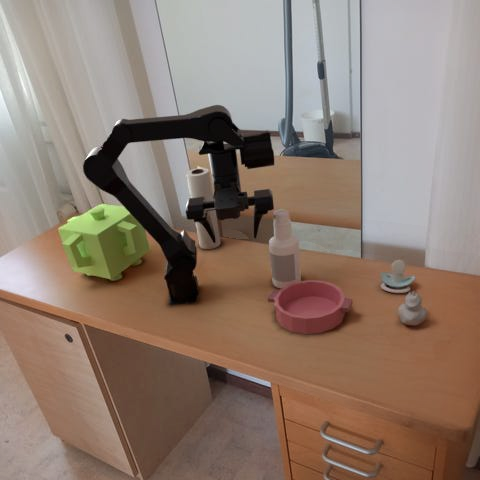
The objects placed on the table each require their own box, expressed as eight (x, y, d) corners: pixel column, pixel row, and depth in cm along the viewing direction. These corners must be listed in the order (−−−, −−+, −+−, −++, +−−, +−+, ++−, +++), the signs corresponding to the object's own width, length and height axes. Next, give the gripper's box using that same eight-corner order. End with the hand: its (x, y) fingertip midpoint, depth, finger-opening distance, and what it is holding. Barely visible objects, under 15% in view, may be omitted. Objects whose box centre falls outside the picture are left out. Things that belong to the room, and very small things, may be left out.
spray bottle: (268, 279, 120) (261, 210, 110) (294, 272, 121) (289, 203, 111) (278, 292, 115) (272, 221, 104) (305, 285, 116) (301, 213, 105)
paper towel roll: (213, 251, 136) (200, 176, 124) (195, 248, 139) (181, 174, 127) (227, 239, 141) (215, 166, 129) (209, 237, 144) (197, 164, 132)
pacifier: (409, 297, 107) (416, 282, 111) (411, 273, 103) (418, 258, 107) (376, 292, 110) (383, 278, 114) (376, 268, 106) (384, 254, 110)
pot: (260, 327, 104) (258, 312, 102) (282, 291, 115) (281, 276, 113) (342, 339, 97) (342, 323, 95) (358, 300, 108) (358, 284, 106)
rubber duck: (393, 327, 99) (395, 293, 94) (403, 309, 103) (405, 276, 98) (421, 333, 96) (425, 298, 92) (429, 314, 100) (433, 281, 96)
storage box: (115, 298, 122) (94, 235, 112) (52, 283, 132) (29, 225, 123) (173, 252, 139) (160, 194, 129) (114, 242, 149) (97, 187, 139)
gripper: (176, 191, 96) (190, 261, 105) (271, 180, 94) (278, 252, 103) (182, 172, 105) (195, 238, 114) (269, 161, 103) (275, 229, 112)
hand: (234, 240), depth 111 cm, fingers open, 9 cm apart
